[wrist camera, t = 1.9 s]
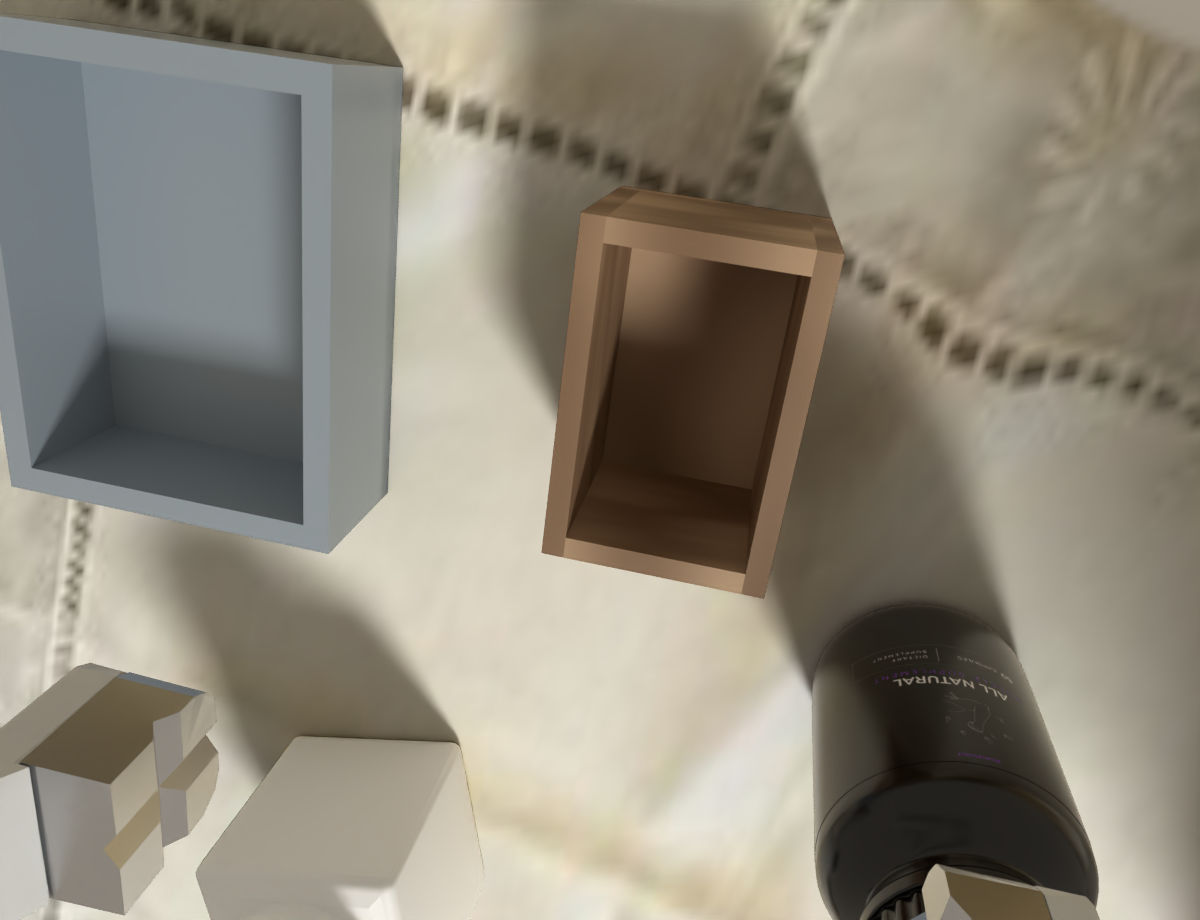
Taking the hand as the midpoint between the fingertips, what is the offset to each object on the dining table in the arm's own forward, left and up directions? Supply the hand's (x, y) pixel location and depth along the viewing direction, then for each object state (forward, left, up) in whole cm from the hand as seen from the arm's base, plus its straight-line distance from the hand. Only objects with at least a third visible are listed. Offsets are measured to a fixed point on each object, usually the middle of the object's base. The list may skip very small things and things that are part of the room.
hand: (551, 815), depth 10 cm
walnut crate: (0, 0, -19) cm, 19 cm away
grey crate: (+15, 0, -19) cm, 24 cm away
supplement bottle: (-9, +10, -19) cm, 24 cm away
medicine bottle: (+9, +21, -19) cm, 30 cm away
